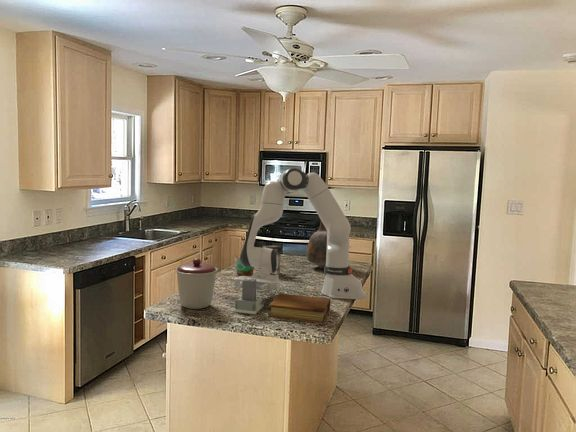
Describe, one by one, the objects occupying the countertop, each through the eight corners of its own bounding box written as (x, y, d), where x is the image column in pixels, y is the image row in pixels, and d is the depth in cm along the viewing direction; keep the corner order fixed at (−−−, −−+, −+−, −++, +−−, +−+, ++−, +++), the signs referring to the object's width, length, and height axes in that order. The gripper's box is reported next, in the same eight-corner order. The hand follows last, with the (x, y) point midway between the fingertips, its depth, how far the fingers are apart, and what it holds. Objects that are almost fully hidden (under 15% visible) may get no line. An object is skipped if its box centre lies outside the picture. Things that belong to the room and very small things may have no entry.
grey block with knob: (255, 305, 206) (256, 277, 205) (251, 309, 202) (252, 279, 200) (245, 304, 208) (246, 276, 206) (241, 307, 203) (242, 278, 201)
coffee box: (266, 275, 268) (267, 247, 266) (261, 272, 273) (262, 245, 272) (280, 274, 272) (281, 246, 270) (275, 271, 278) (276, 244, 276)
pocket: (263, 306, 209) (263, 295, 208) (255, 314, 198) (255, 302, 198) (242, 304, 211) (242, 293, 211) (233, 311, 201) (233, 300, 200)
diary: (329, 310, 209) (330, 298, 208) (323, 324, 191) (324, 310, 190) (279, 304, 214) (280, 292, 213) (268, 317, 196) (269, 304, 195)
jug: (348, 268, 294) (351, 220, 290) (332, 274, 276) (335, 223, 272) (314, 262, 307) (316, 217, 303) (297, 268, 289) (299, 219, 285)
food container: (230, 275, 264) (231, 258, 263) (235, 273, 269) (236, 256, 268) (250, 278, 259) (250, 260, 258) (255, 276, 265) (255, 258, 264)
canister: (208, 314, 196) (209, 264, 194) (167, 310, 199) (168, 261, 197) (222, 301, 214) (223, 256, 211) (184, 298, 217) (185, 253, 214)
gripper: (239, 271, 221) (229, 277, 207) (281, 275, 216) (273, 282, 202) (239, 284, 221) (228, 291, 208) (281, 288, 216) (273, 296, 203)
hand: (251, 287), depth 205 cm, fingers open, 8 cm apart
